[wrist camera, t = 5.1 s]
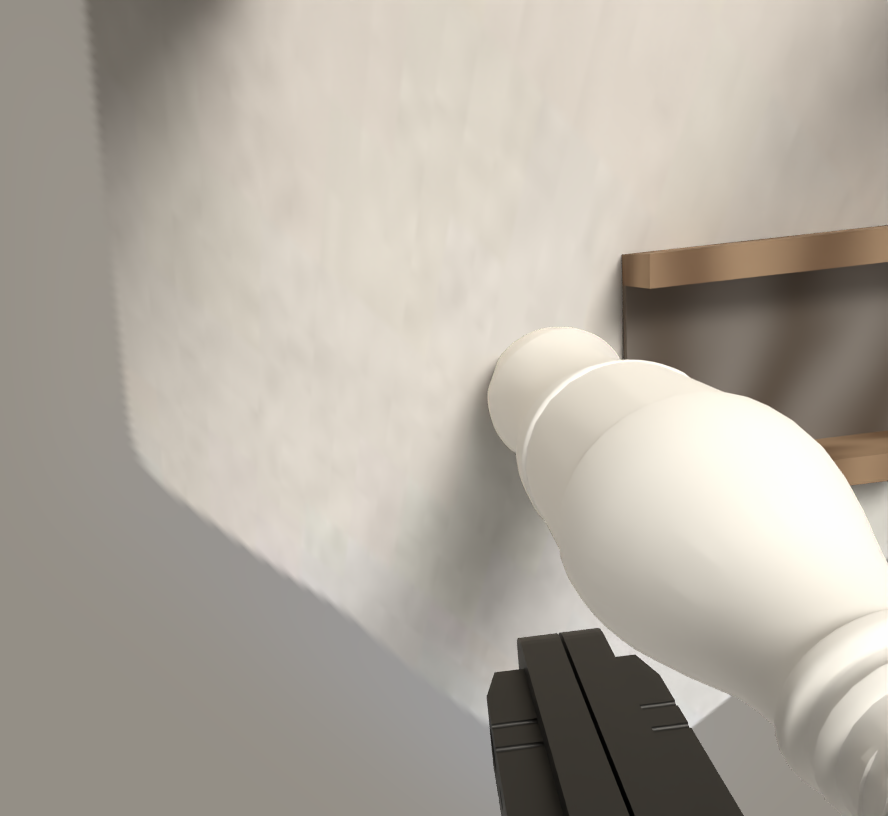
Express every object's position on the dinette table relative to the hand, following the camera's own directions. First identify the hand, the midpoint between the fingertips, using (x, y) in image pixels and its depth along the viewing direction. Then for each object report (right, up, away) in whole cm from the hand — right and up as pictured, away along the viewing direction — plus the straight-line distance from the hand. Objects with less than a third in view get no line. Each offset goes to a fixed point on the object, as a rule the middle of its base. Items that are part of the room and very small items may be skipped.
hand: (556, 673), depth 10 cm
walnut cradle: (+16, +8, +21) cm, 28 cm away
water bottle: (+4, +6, +21) cm, 22 cm away
